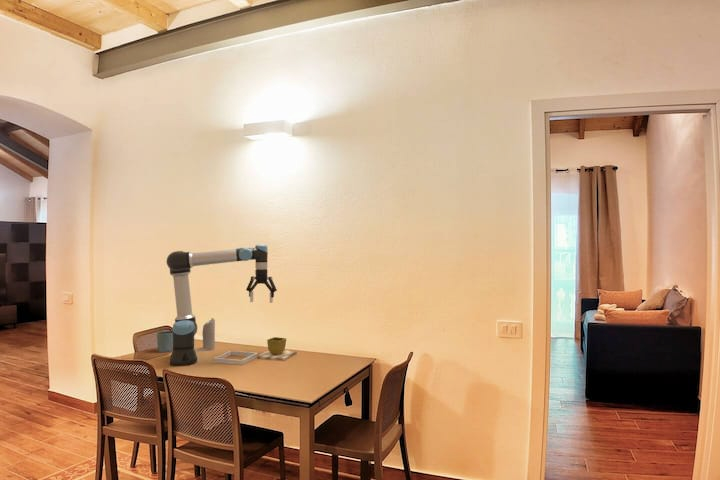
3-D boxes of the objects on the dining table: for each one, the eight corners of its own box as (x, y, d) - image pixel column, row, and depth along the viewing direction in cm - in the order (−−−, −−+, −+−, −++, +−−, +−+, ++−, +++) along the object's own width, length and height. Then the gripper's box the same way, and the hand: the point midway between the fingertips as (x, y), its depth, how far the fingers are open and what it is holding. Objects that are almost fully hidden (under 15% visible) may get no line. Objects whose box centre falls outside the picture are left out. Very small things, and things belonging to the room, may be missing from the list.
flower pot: (286, 352, 274) (286, 338, 274) (279, 355, 266) (279, 341, 266) (274, 351, 278) (274, 337, 278) (266, 354, 269) (266, 339, 270)
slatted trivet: (257, 358, 266) (257, 356, 266) (270, 351, 283) (270, 349, 283) (284, 360, 261) (284, 358, 261) (296, 353, 278) (296, 351, 278)
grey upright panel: (192, 349, 290) (192, 318, 290) (214, 347, 294) (214, 317, 294) (191, 351, 283) (191, 320, 283) (214, 350, 287) (214, 319, 288)
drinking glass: (153, 351, 282) (153, 333, 283) (164, 348, 292) (164, 330, 292) (166, 353, 280) (166, 334, 280) (177, 349, 289) (177, 331, 289)
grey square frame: (212, 362, 257) (212, 358, 257) (230, 354, 275) (230, 350, 275) (242, 364, 252) (242, 360, 252) (258, 356, 270) (258, 352, 270)
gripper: (282, 268, 282) (281, 302, 282) (246, 268, 289) (246, 300, 288) (276, 269, 275) (276, 303, 275) (240, 269, 281) (240, 302, 281)
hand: (261, 302), depth 282 cm, fingers open, 13 cm apart
